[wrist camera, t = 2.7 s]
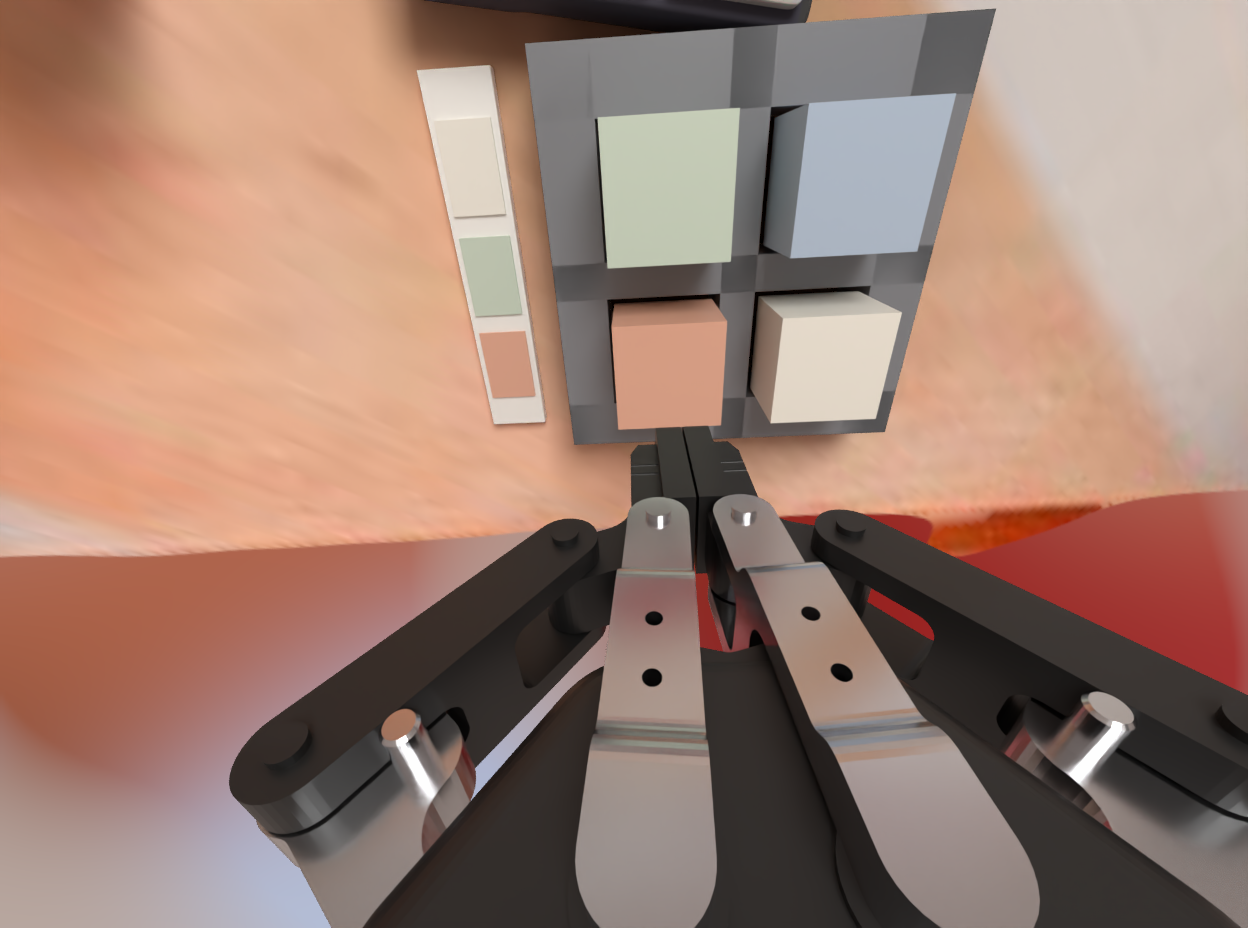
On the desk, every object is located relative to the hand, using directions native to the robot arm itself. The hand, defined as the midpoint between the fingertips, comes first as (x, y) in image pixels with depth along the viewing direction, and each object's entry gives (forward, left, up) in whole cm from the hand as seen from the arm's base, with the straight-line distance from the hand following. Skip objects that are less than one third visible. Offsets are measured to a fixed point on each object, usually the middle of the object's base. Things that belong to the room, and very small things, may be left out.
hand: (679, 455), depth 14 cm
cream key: (-7, 0, -10) cm, 12 cm away
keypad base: (-3, -3, -13) cm, 14 cm away
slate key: (-7, -6, -10) cm, 14 cm away
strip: (+8, -3, -13) cm, 16 cm away
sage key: (0, -6, -10) cm, 12 cm away
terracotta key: (0, 0, -10) cm, 10 cm away
